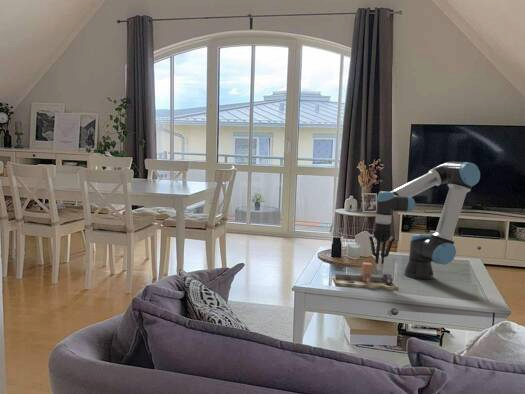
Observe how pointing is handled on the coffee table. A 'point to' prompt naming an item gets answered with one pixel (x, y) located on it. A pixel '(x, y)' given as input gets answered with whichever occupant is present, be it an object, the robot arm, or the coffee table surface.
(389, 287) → the bolt board
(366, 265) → the sliding head
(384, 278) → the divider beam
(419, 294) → the coffee table surface
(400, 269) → the coffee table surface
